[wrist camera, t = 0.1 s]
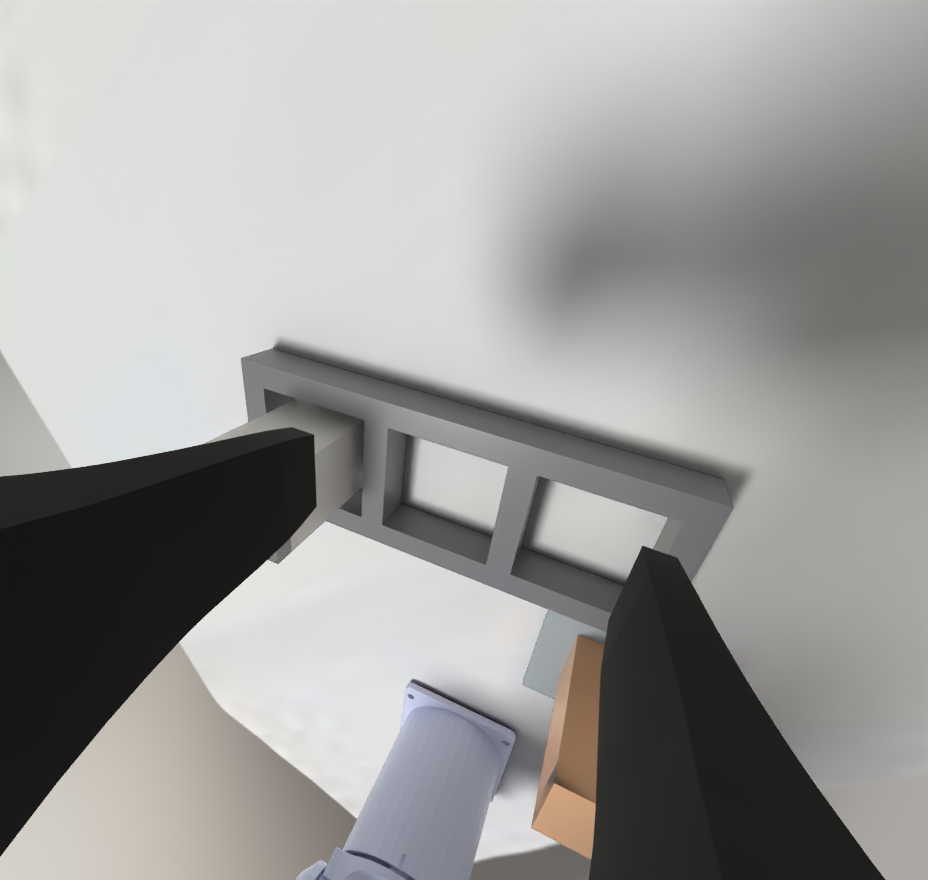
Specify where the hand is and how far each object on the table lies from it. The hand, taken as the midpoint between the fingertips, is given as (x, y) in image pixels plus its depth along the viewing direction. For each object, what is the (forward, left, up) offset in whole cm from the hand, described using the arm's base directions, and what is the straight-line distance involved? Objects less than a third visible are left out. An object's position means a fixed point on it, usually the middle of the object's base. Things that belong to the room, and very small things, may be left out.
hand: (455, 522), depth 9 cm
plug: (-14, -7, -10) cm, 19 cm away
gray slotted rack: (-6, +3, -10) cm, 12 cm away
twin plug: (-6, +10, -10) cm, 15 cm away
